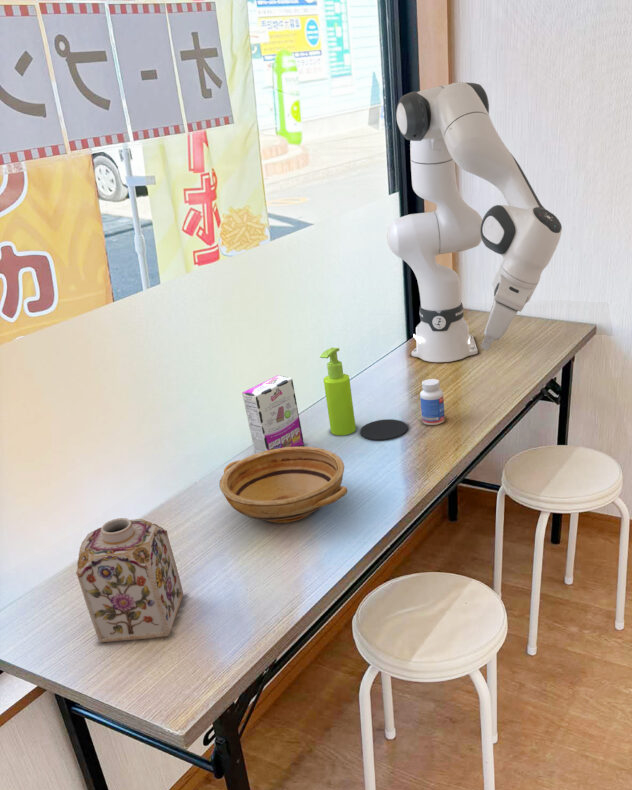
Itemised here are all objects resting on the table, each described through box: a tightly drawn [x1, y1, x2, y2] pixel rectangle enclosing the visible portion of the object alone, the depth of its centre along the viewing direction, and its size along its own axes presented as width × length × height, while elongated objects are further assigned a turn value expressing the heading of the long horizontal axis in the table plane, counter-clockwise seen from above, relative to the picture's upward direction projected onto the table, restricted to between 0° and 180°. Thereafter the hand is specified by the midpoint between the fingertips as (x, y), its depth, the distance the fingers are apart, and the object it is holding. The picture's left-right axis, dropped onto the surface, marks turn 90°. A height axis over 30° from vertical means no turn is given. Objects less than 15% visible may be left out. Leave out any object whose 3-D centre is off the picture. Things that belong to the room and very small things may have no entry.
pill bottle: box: [419, 378, 446, 426], centre depth 198 cm, size 6×5×10 cm
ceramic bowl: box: [219, 446, 348, 524], centre depth 167 cm, size 30×24×8 cm
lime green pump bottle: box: [319, 346, 357, 437], centre depth 195 cm, size 6×7×20 cm
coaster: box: [359, 419, 408, 442], centre depth 198 cm, size 11×11×1 cm
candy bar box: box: [241, 375, 305, 454], centre depth 189 cm, size 11×5×16 cm, turn 143°
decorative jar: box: [75, 517, 184, 644], centre depth 136 cm, size 12×12×18 cm
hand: (486, 339), depth 190 cm, fingers open, 8 cm apart
